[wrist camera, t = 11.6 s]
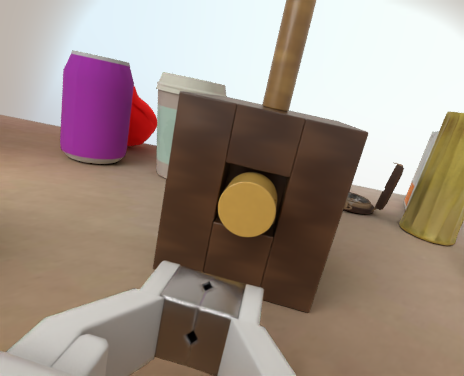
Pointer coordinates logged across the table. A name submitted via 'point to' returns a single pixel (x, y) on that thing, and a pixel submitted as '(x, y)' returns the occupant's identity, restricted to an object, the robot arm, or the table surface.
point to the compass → (364, 205)
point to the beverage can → (95, 108)
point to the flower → (140, 121)
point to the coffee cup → (175, 110)
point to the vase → (440, 188)
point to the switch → (248, 205)
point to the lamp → (268, 164)
